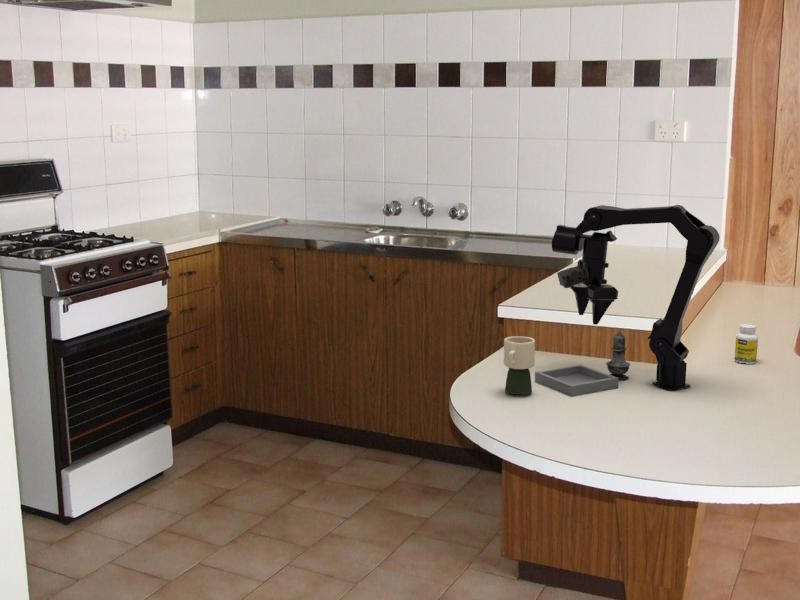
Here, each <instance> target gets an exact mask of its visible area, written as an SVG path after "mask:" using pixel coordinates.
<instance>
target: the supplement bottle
mask: <svg viewBox="0 0 800 600" xmlns="http://www.w3.org/2000/svg"><path fill="white" fill-rule="evenodd" d="M756 331H757V326H756V325H754V324H748V323H745V324H744V323H741V324H739V332H738V333H736V337H735V349H734V362H735V363H737V362H739V363H738V364H741V363H746V364H745V365H754V364H756V363H757V360H758V359H757V357H758V343H759V335H758V334H756ZM753 363H754V364H753Z"/></svg>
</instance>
